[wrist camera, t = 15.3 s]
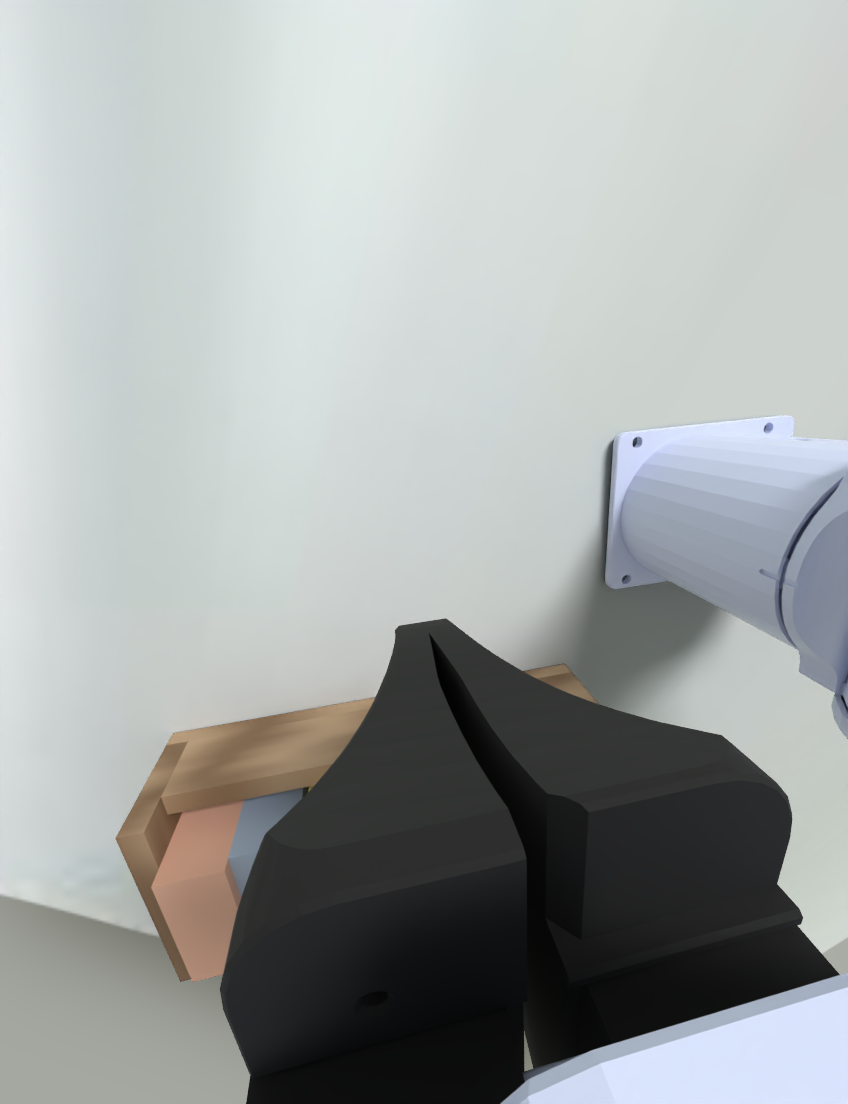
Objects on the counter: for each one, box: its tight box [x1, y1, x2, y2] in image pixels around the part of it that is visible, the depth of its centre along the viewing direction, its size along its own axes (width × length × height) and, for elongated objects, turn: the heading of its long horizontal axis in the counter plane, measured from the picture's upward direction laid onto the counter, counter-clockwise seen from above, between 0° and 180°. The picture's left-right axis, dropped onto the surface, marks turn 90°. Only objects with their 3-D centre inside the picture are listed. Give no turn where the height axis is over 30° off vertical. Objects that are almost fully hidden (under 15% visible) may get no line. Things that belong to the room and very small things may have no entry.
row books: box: [151, 787, 309, 982], centre depth 20 cm, size 5×6×6 cm
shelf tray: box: [116, 664, 598, 982], centre depth 22 cm, size 21×9×6 cm, turn 95°
